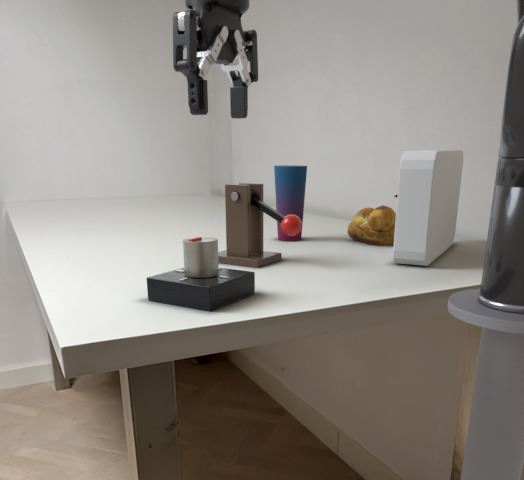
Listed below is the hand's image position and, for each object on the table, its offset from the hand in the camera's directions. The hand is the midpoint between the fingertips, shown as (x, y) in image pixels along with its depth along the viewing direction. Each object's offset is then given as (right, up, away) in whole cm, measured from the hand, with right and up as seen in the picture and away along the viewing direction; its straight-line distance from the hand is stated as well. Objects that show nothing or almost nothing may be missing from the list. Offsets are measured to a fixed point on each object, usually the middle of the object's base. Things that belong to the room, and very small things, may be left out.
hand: (220, 116), depth 69 cm
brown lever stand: (+2, -14, +27) cm, 31 cm away
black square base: (-3, -22, +4) cm, 23 cm away
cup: (+11, -6, +50) cm, 51 cm away
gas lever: (+6, -7, +23) cm, 25 cm away
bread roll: (+29, -7, +46) cm, 55 cm away
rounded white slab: (+36, -12, +33) cm, 50 cm away
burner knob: (-3, -19, +3) cm, 20 cm away
